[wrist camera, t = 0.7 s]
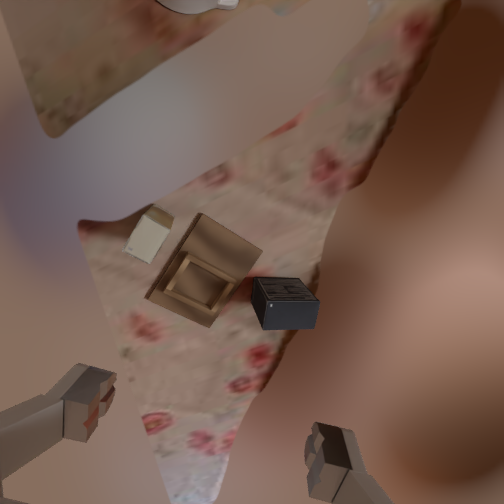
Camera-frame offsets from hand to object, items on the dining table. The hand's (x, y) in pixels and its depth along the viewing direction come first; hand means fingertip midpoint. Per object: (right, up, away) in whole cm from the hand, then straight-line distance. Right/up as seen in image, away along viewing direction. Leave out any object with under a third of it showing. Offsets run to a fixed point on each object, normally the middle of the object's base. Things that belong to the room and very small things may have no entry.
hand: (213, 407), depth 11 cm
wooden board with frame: (-8, +2, +43) cm, 44 cm away
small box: (+7, -2, +48) cm, 49 cm away
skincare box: (-16, +12, +38) cm, 43 cm away
